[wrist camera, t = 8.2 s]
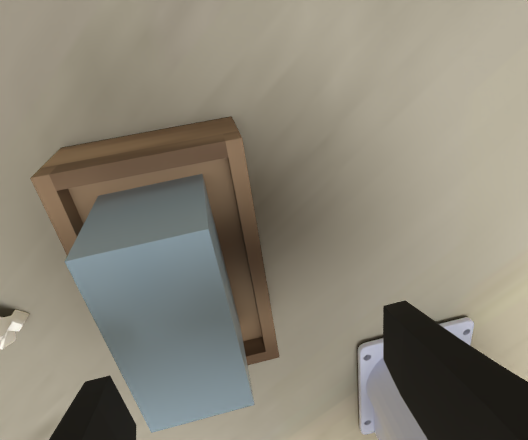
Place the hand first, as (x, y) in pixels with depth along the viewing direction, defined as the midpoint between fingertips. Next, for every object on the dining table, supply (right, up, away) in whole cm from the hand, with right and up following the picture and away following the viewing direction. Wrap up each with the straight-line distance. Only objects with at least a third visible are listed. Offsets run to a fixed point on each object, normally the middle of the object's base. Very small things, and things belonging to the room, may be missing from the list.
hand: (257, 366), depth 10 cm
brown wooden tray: (-4, +3, +9) cm, 10 cm away
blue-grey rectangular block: (-4, +2, +6) cm, 8 cm away
